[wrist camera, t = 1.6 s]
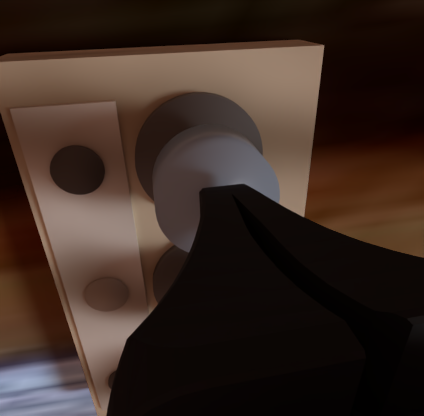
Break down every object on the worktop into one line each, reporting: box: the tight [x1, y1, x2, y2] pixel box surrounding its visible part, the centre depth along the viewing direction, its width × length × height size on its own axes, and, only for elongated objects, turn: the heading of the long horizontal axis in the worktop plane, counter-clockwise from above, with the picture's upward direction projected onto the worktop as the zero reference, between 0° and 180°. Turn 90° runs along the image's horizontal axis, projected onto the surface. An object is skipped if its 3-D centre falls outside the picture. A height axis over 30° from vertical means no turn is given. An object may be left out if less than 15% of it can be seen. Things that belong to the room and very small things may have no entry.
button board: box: [0, 40, 324, 416], centre depth 19 cm, size 21×12×3 cm, turn 2°
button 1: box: [152, 124, 280, 252], centre depth 12 cm, size 4×4×2 cm
